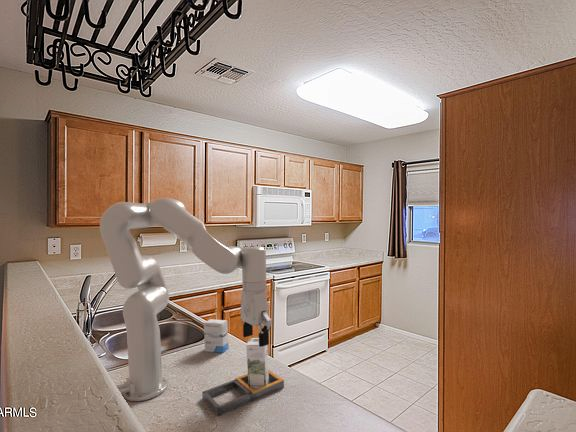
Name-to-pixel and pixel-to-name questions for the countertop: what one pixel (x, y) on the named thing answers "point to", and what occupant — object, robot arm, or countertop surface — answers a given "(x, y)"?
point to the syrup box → (257, 364)
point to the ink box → (216, 335)
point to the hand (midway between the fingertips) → (255, 340)
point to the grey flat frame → (243, 389)
